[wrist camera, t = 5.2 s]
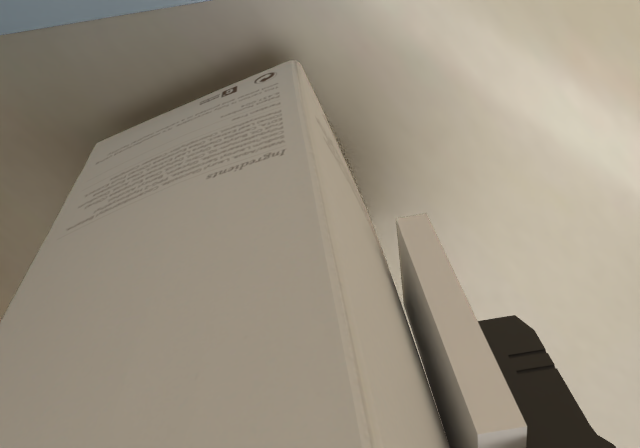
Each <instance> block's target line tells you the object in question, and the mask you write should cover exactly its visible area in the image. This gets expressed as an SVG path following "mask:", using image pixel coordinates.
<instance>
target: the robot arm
mask: <svg viewBox="0 0 640 448" xmlns="http://www.w3.org/2000/svg"><path fill="white" fill-rule="evenodd" d="M396 225H397V236H398V246H399V257H400V268H401V279H402V290H403V301H404V307H405V310H406V313H407V316H408V319H409V322H410V325H411V328H412V332H413V335H414V338H415V341H416V344H417V347H418V350H419V353H420V356H421V359H422V363H423V366H424V369H425V372H426V375H427V378H428V381H429V384H430V387H431V391H432V394H433V397H434V400H435V403H436V406H437V409H438V412H439V415H440V419H441V422H442V425H443V428H444V431H445V434H446V437H447V440H448V443H449V446H450V448H616V447H615V446H614V445H613V444H612V443H610V442H608V441H607V440H605V439H603V438H602V437H600V436H598V435H597V434H596V433H595V431H594V430H593V429H592V427H591V426H590V424H589V423H588V421H587V419H586V418H585V416H584V414H583V412H582V411H581V409H580V407H579V406H578V404H577V402H576V401H575V399H574V397H573V395H572V394H571V392H570V390H569V389H568V387H567V385H566V384H565V382H564V380H563V378H562V377H561V375H560V373H559V372H558V370H557V369H555V366H554V363H553V361H552V360H551V358H550V356H549V355H548V353H546V351H545V348H544V346H543V344H542V343H541V341H540V339H539V337H538V336H537V334H536V332H535V331H534V330H533V329H532V328H531V327H529V326H528V325H527V324H525V323H524V322H523V321H522V320H520V319H519V318H518V317H516V316H515V315H513V316H507V317H501V318H495V319H489V320H483V321H477V319H476V317H475V315H474V313H473V311H472V309H471V306H470V304H469V302H468V300H467V298H466V296H465V294H464V292H463V289H462V287H461V285H460V283H459V281H458V279H457V277H456V275H455V273H454V270H453V268H452V266H451V264H450V262H449V260H448V258H447V256H446V254H445V251H444V249H443V247H442V245H441V243H440V241H439V239H438V237H437V235H436V232H435V230H434V228H433V226H432V224H431V222H430V220H429V218H428V215H427V213H425V214H419V215H413V216H407V217H401V218H396Z"/></svg>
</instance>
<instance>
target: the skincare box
mask: <svg viewBox="0 0 640 448" xmlns="http://www.w3.org/2000/svg"><path fill="white" fill-rule="evenodd" d="M0 448H450V447H449V444H448V441H447V438H446V435H445V432H444V429H443V426H442V423H441V420H440V417H439V414H438V411H437V408H436V405H435V402H434V399H433V396H432V393H431V390H430V387H429V384H428V381H427V378H426V375H425V372H424V369H423V366H422V363H421V360H420V357H419V354H418V351H417V349H416V346H415V343H414V340H413V337H412V334H411V331H410V328H409V325H408V322H407V319H406V316H405V314H404V311H403V308H402V305H401V302H400V299H399V296H398V293H397V290H396V287H395V285H394V282H393V279H392V276H391V273H390V271H389V268H388V265H387V262H386V259H385V257H384V254H383V251H382V248H381V246H380V243H379V240H378V238H377V235H376V233H375V230H374V227H373V225H372V222H371V220H370V217H369V214H368V212H367V209H366V207H365V205H364V202H363V200H362V198H361V195H360V193H359V191H358V189H357V186H356V184H355V182H354V179H353V177H352V175H351V172H350V170H349V168H348V166H347V163H346V161H345V159H344V157H343V154H342V152H341V150H340V148H339V145H338V143H337V141H336V139H335V137H334V134H333V132H332V130H331V128H330V125H329V123H328V121H327V119H326V116H325V114H324V112H323V110H322V107H321V105H320V103H319V101H318V99H317V97H316V95H315V93H314V90H313V88H312V86H311V84H310V82H309V80H308V78H307V76H306V74H305V72H304V70H303V67H302V65H301V64H300V63H299V62H298V61H295V60H289V61H287V62H284V63H282V64H279V65H277V66H275V67H272V68H270V69H268V70H265V71H263V72H260V73H258V74H256V75H253V76H251V77H248V78H246V79H243V80H241V81H239V82H236V83H234V84H231V85H229V86H227V87H224V88H222V89H219V90H217V91H215V92H212V93H210V94H208V95H206V96H203V97H201V98H199V99H196V100H194V101H192V102H189V103H187V104H185V105H182V106H180V107H178V108H175V109H173V110H171V111H168V112H166V113H164V114H161V115H159V116H157V117H154V118H152V119H150V120H147V121H145V122H143V123H141V124H138V125H136V126H134V127H132V128H129V129H127V130H125V131H122V132H120V133H118V134H116V135H113V136H111V137H109V138H107V139H104V140H102V141H100V142H97V144H96V145H95V146H94V148H93V150H92V152H91V154H90V156H89V158H88V160H87V161H86V164H85V166H84V168H83V170H82V171H81V173H80V175H79V176H78V178H77V180H76V182H75V184H74V185H73V187H72V189H71V191H70V193H69V195H68V197H67V199H66V200H65V202H64V204H63V206H62V208H61V210H60V212H59V214H58V216H57V217H56V219H55V221H54V223H53V225H52V227H51V229H50V231H49V232H48V234H47V236H46V238H45V240H44V242H43V243H42V245H41V247H40V249H39V251H38V253H37V254H36V256H35V258H34V260H33V262H32V263H31V265H30V267H29V269H28V271H27V273H26V275H25V277H24V278H23V280H22V282H21V284H20V286H19V287H18V290H17V292H16V294H15V295H14V297H13V299H12V300H11V302H10V304H9V306H8V308H7V310H6V312H5V314H4V316H3V318H2V320H1V322H0Z"/></svg>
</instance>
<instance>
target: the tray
mask: <svg viewBox="0 0 640 448" xmlns="http://www.w3.org/2000/svg"><path fill="white" fill-rule="evenodd" d="M205 1H211V0H0V35H5V34H11V33H17V32H23V31H29V30H35V29H42V28H48V27H54V26H60V25H66V24H72V23H78V22H84V21H90V20H96V19H102V18H108V17H114V16H120V15H126V14H132V13H138V12H144V11H150V10H156V9H162V8H168V7H175V6H181V5H187V4H193V3H199V2H205Z"/></svg>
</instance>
